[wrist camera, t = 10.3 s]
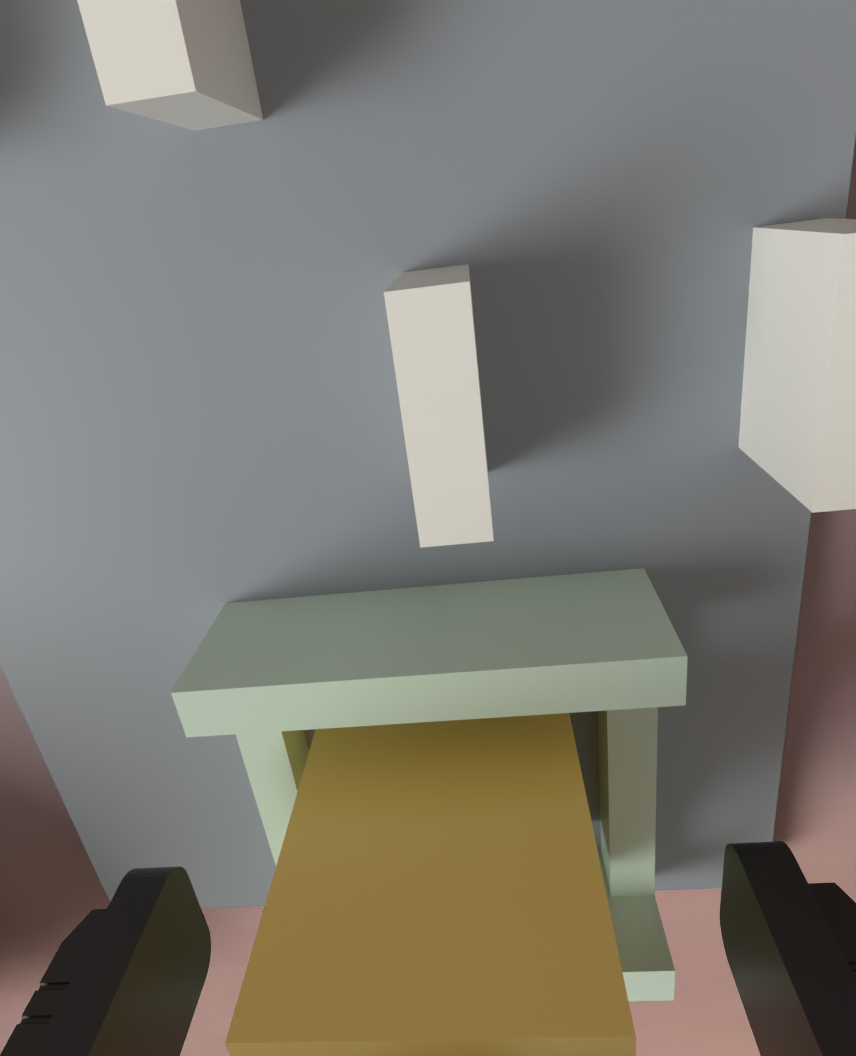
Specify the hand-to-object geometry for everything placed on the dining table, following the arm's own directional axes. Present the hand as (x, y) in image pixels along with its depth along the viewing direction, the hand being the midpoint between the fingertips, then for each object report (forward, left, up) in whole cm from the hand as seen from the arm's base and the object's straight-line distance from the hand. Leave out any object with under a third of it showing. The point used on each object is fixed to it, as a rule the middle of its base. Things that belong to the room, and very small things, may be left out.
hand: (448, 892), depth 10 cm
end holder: (0, 0, -3) cm, 3 cm away
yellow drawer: (0, 0, -3) cm, 3 cm away
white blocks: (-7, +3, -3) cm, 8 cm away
